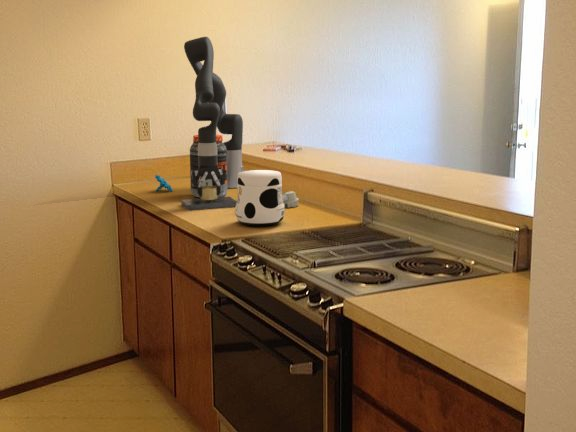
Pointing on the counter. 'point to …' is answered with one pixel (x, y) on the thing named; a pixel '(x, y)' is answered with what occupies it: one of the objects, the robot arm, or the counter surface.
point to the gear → (163, 184)
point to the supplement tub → (221, 165)
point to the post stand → (208, 203)
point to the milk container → (259, 197)
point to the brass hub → (209, 193)
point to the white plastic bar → (290, 199)
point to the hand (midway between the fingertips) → (209, 195)
